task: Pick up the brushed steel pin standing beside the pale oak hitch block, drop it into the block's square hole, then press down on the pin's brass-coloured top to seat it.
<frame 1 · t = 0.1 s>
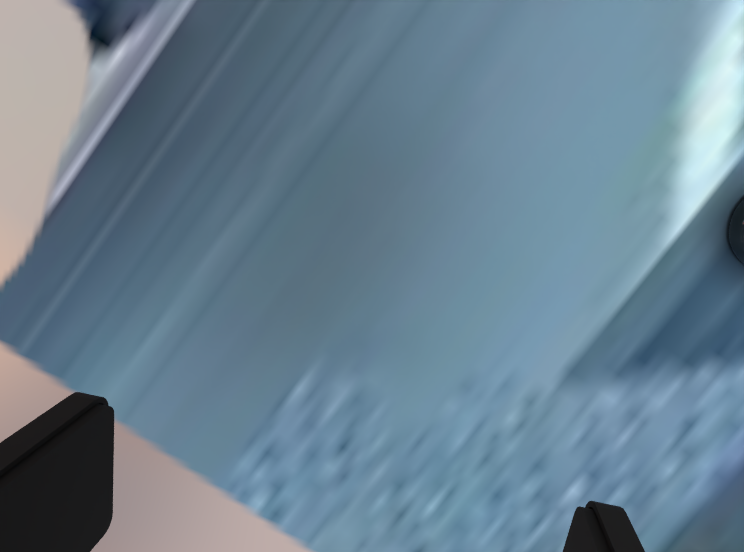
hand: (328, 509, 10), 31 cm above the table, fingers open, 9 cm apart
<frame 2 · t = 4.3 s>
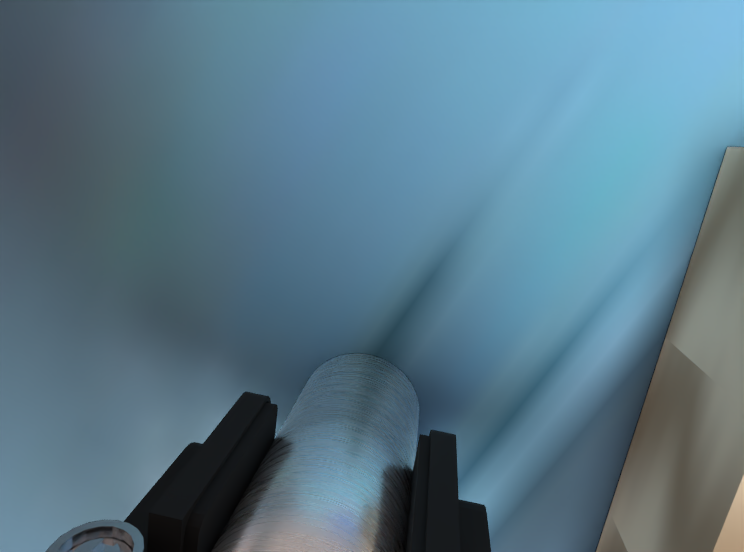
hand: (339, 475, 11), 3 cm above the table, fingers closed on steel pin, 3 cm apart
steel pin: (360, 408, 14), on the table, touching gripper
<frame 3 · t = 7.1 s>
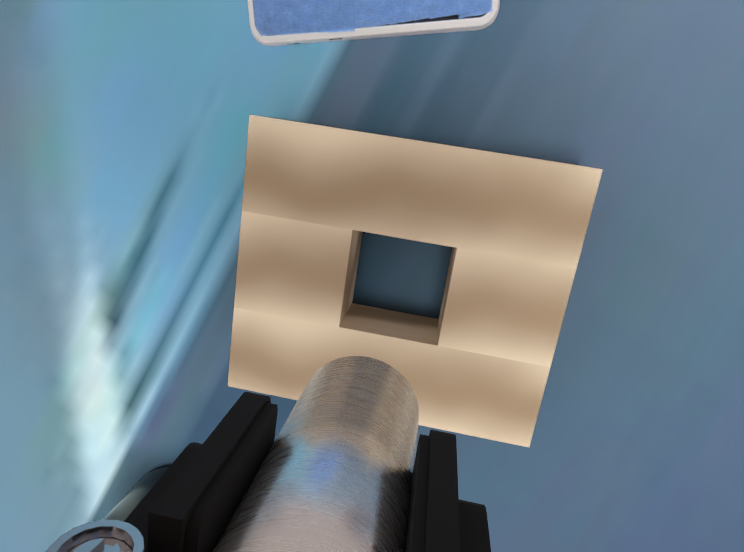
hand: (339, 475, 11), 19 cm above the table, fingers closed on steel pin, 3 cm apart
supplement bottle: (183, 503, 35), on the table
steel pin: (359, 410, 14), point 16 cm above the table, touching gripper
hitch block: (402, 269, 29), on the table
when the fingers open (5 cm above the table, at t = 10.1 s): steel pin drops 2 cm, resting in hitch block.
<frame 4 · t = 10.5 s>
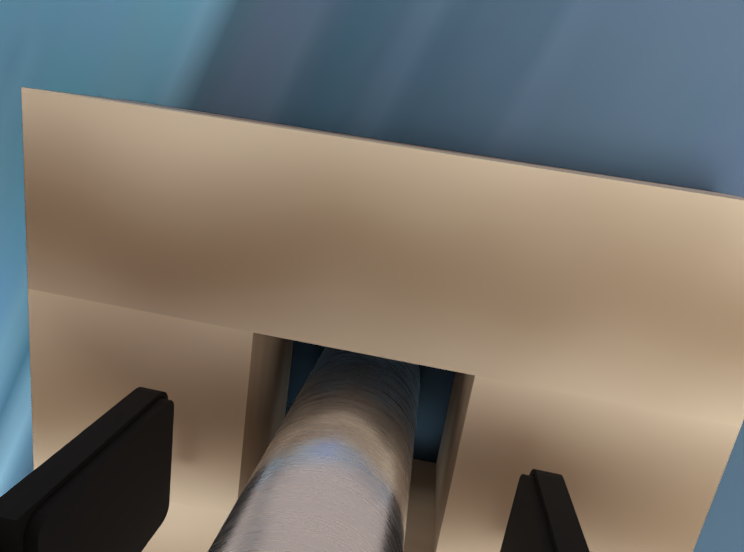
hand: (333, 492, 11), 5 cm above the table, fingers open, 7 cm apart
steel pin: (368, 376, 16), resting in hitch block
hitch block: (370, 376, 16), on the table
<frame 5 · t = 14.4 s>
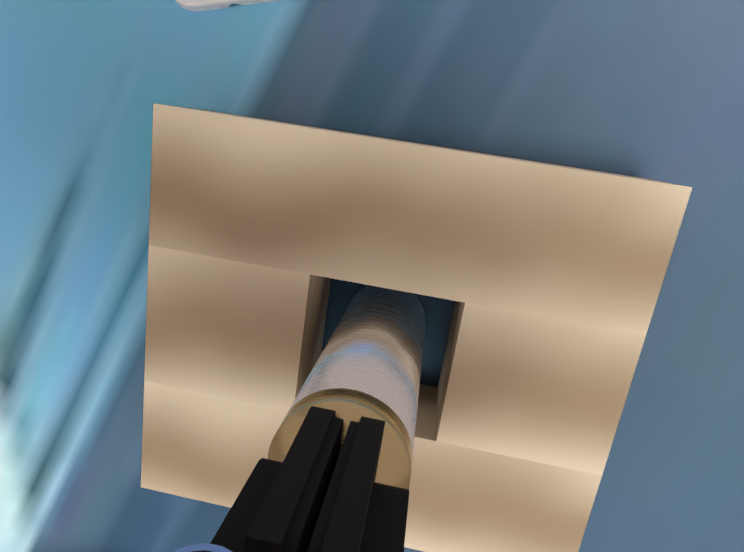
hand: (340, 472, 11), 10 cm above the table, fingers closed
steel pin: (385, 320, 21), resting in hitch block, touching gripper
hitch block: (387, 319, 21), on the table
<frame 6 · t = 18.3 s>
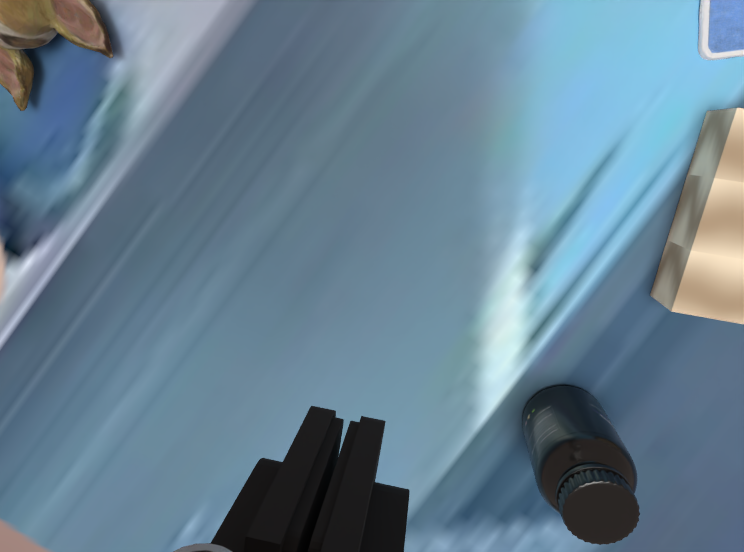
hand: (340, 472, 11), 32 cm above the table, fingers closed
ceramic sculpture: (39, 0, 42), on the table
supplement bottle: (560, 417, 45), on the table
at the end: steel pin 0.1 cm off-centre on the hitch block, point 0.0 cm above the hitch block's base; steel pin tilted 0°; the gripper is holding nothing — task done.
